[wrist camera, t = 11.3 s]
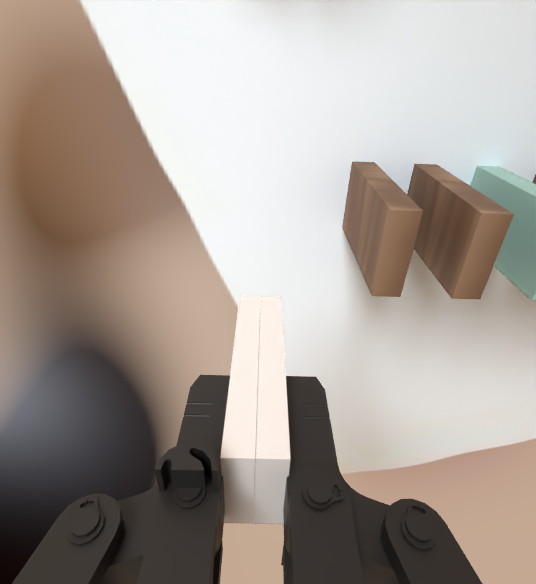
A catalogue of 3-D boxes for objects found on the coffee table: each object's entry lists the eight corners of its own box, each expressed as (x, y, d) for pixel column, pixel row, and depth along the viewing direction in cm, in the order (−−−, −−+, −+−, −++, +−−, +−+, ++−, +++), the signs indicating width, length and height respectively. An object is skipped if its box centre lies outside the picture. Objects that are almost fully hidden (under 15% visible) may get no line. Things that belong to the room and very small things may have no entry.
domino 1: (342, 227, 29) (371, 295, 21) (352, 161, 27) (390, 209, 18) (362, 227, 29) (400, 296, 21) (374, 162, 27) (423, 210, 18)
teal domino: (456, 230, 29) (531, 300, 21) (476, 166, 27) (573, 215, 18) (475, 231, 30) (559, 301, 21) (498, 166, 27) (604, 216, 18)
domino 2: (399, 229, 29) (451, 298, 21) (414, 163, 27) (481, 213, 18) (419, 229, 29) (480, 299, 21) (436, 164, 27) (514, 214, 18)
